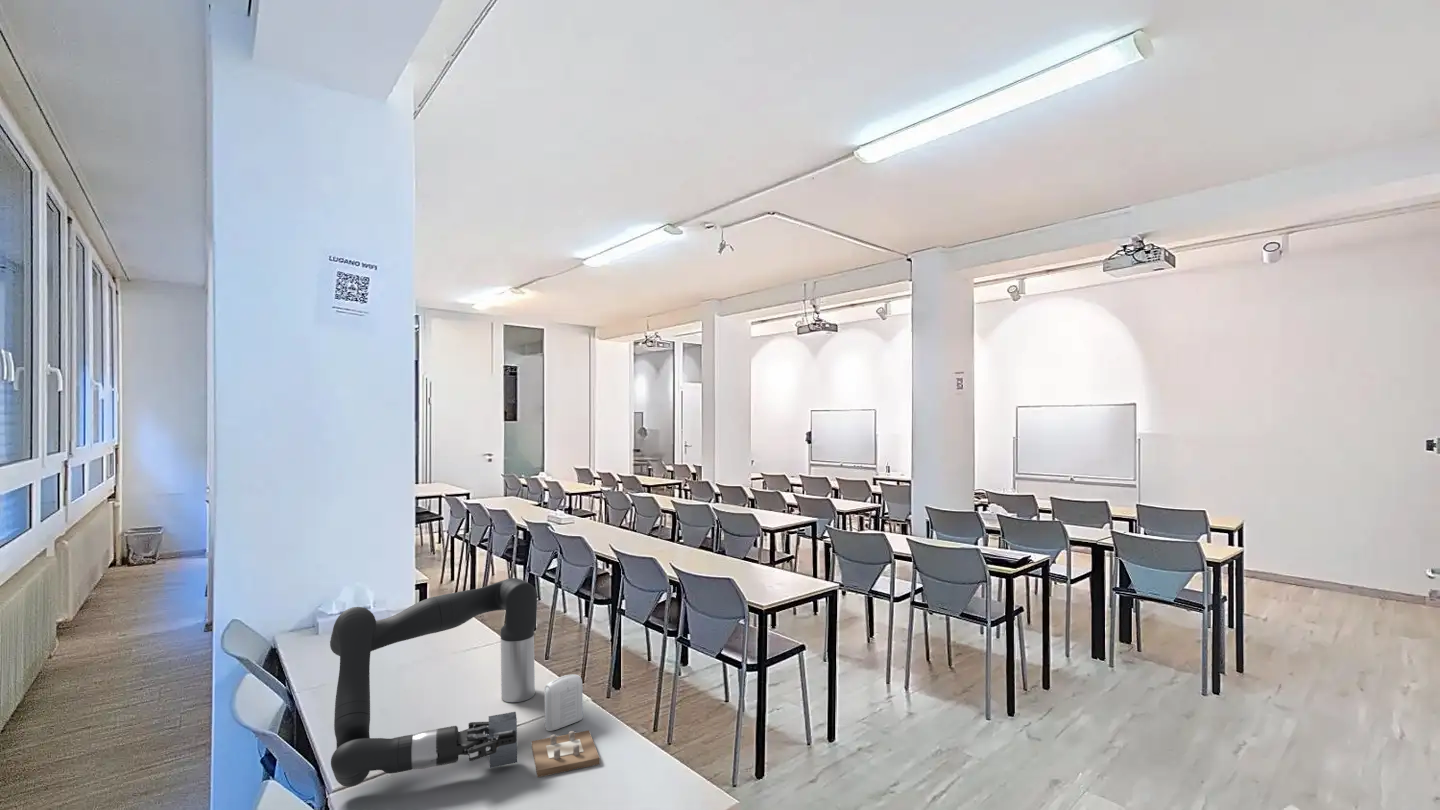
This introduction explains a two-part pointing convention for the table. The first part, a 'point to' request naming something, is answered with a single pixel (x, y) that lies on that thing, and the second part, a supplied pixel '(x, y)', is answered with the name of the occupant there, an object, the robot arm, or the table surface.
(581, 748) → the pin tray
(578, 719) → the photo printer
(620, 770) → the table surface
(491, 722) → the block
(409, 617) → the robot arm
